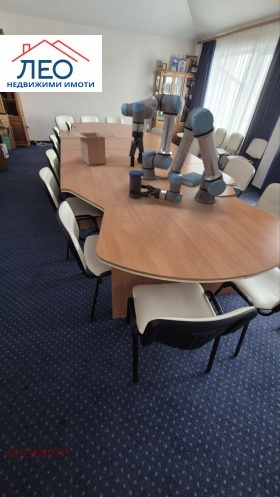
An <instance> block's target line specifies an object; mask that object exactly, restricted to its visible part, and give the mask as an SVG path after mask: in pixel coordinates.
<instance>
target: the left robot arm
mask: <svg viewBox="0 0 280 497" xmlns="http://www.w3.org/2000/svg"><path fill="white" fill-rule="evenodd" d="M120 109H121V110H120V112H121V115H122V116H124V117H127V118H128V117H129V118H132V121H131V122H132V123H131V137H132V138H133V139H132V140H131V144H130V149H129V154H128V157H130V160H129V161H130V164H129V166H130V168H135V163H136V161H135V159H136V157H135V155H136V152H137V149H138V154H137V155H138V156H137V158H138V162H140V163H139V164H141V169H140V171H142V172H143V176H142V180H146V181H154V180H156V178H159V179H163V180H168V177H161V176H158V175H157V174H156V169H160V170H165V171H167V170H169V169H171V167H172V164H173V161H174V159H173V156H172V152H171V146H172V140H173V135H174V134H173V133H174V129H175V123H176V119H177V118H178V116H179V114H181V112H182V110H183V98H182V97H181V96H180V95H179V94H174V93H173V94H171V93H157V94H154V95H151V96H149V97H148V98H146V99H141V100H138V101H134V102H129V103H128V102H127V103H126V102H123V103H122V105H121V107H120ZM155 111H156V112H157V111H158V112H163V113H162V115H163V117H164V119H163V125H162V131H161V139H160V145H159V150H153V149H151V150H150V149H149V150H145V148H144V130H145V120H150V119H152V118H153V117H154V116H155V113H156V112H155ZM142 154H143V156H142ZM142 157H143V158H142ZM138 162H137V163H138ZM226 186H233V187H238V186H237V184H229V183H226Z"/></svg>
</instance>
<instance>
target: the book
mask: <svg viewBox="0 0 280 497" xmlns="http://www.w3.org/2000/svg"><path fill="white" fill-rule="evenodd" d="M181 175H182V183H181V185H185V186H187V187H190V188H192V187H195V186H197V185H200V183H201V179H202V174H201V173H197V172H195V171H192V172H187V173H185V174H181Z"/></svg>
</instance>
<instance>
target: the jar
mask: <svg viewBox="0 0 280 497" xmlns="http://www.w3.org/2000/svg"><path fill="white" fill-rule="evenodd" d="M142 180H143V179H142V176H141V177H133V176H130V175H129V185H128V197H129V198H131V199H134V200H135V199H140V198H141V197H137V196H138V195H135V194H131V193H130V189H131V190H135V191H139V192H142V188H141V184H142V182H143V181H142Z"/></svg>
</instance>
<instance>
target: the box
mask: <svg viewBox="0 0 280 497" xmlns="http://www.w3.org/2000/svg"><path fill="white" fill-rule="evenodd" d="M70 133H71V134H72V135H74V136H75V137H77V138H79V144H80V153H81V160H83V162H85V163H86V165H87V166H95V165H97V166H98V165H106V163H107V162H106V158H107V157H106V138H113V137H114V136H113V135H111V134H109V133H108V132H105V131H98V132H96V131H95V130H92V129H91V130H77V132H76V131H70Z"/></svg>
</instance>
